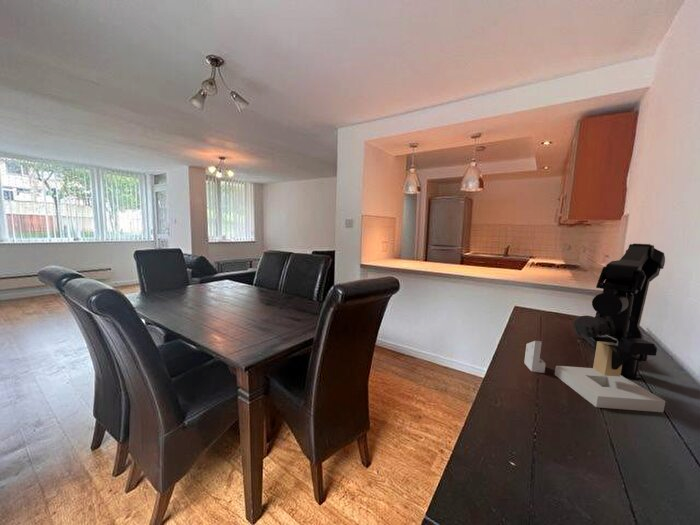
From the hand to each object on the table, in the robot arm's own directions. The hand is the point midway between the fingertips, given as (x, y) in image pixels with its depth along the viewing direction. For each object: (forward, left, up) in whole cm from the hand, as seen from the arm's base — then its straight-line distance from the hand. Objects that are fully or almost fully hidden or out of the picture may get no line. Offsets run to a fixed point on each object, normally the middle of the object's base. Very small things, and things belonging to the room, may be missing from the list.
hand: (607, 365), depth 78 cm
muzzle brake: (-23, -32, -8) cm, 40 cm away
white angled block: (+12, -12, -8) cm, 19 cm away
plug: (0, 0, -2) cm, 2 cm away
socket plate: (0, 0, -8) cm, 8 cm away
